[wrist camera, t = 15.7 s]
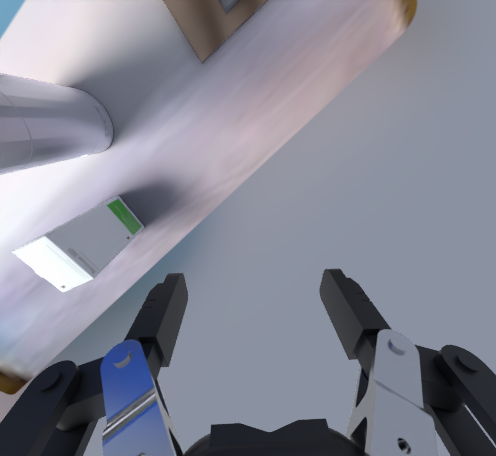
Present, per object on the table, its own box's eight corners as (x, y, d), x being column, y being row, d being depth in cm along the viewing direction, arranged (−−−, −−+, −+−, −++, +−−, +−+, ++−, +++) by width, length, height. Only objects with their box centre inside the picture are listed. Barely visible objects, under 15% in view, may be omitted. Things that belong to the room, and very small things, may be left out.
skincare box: (145, 227, 40) (98, 280, 27) (121, 238, 42) (63, 295, 28) (117, 192, 37) (44, 235, 23) (90, 206, 38) (7, 254, 24)
